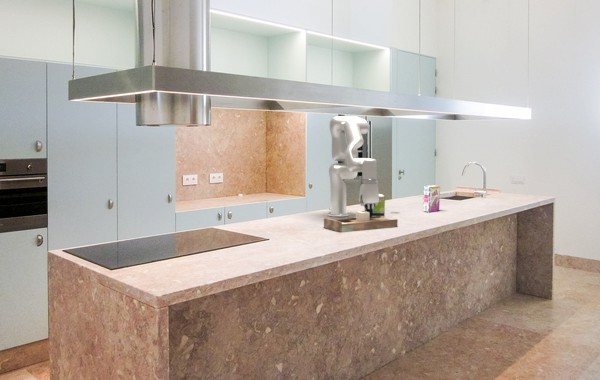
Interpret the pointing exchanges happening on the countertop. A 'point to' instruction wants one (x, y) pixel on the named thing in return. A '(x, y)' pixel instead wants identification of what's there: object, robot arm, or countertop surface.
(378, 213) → the tea box
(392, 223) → the trap board
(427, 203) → the candy bar box
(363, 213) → the cream block
